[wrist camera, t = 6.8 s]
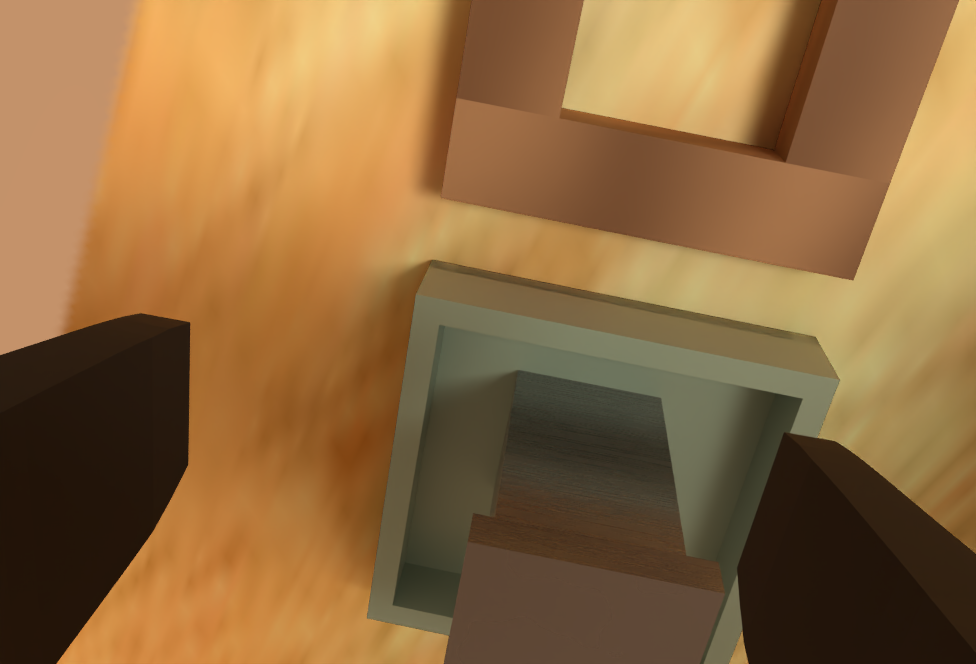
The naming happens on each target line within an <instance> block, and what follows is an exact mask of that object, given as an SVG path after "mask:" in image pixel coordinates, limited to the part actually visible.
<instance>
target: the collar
mask: <svg viewBox="0 0 976 664" xmlns="http://www.w3.org/2000/svg"><path fill="white" fill-rule="evenodd" d="M583 1H584V0H472V2H471V9H470V15H469V21H468V28H467V34H466V40H465V47H464V53H463V59H462V66H461V72H460V79H459V85H458V91H457V98H456V104H455V110H454V117H453V123H452V130H451V136H450V142H449V149H448V155H447V161H446V168H445V174H444V181H443V187H442V193H441V198H444V199H449V200H454V201H459V202H464V203H469V204H474V205H479V206H484V207H489V208H494V209H499V210H504V211H509V212H514V213H519V214H524V215H529V216H534V217H539V218H544V219H549V220H554V221H559V222H564V223H569V224H574V225H579V226H584V227H589V228H594V229H599V230H604V231H609V232H614V233H619V234H624V235H629V236H634V237H639V238H644V239H649V240H654V241H659V242H664V243H669V244H674V245H679V246H684V247H689V248H694V249H699V250H704V251H709V252H714V253H719V254H724V255H729V256H734V257H739V258H744V259H749V260H754V261H759V262H764V263H769V264H774V265H779V266H784V267H789V268H794V269H799V270H804V271H809V272H814V273H819V274H824V275H829V276H834V277H839V278H844V279H849V280H854V277H855V275H856V272H857V269H858V267H859V264H860V261H861V259H862V256H863V253H864V251H865V248H866V246H867V243H868V240H869V238H870V235H871V232H872V230H873V227H874V224H875V222H876V219H877V216H878V214H879V211H880V208H881V206H882V203H883V201H884V198H885V195H886V193H887V190H888V187H889V185H890V182H891V179H892V177H893V174H894V171H895V169H896V166H897V163H898V161H899V158H900V156H901V153H902V150H903V148H904V145H905V142H906V140H907V137H908V134H909V132H910V129H911V126H912V124H913V121H914V118H915V116H916V113H917V111H918V108H919V105H920V103H921V100H922V97H923V95H924V92H925V89H926V87H927V84H928V81H929V79H930V76H931V73H932V71H933V68H934V66H935V63H936V60H937V58H938V55H939V52H940V50H941V47H942V44H943V42H944V39H945V36H946V34H947V31H948V28H949V26H950V23H951V20H952V18H953V15H954V13H955V10H956V7H957V5H958V2H959V0H821V3H820V6H819V10H818V13H817V16H816V19H815V22H814V25H813V29H812V32H811V35H810V38H809V41H808V45H807V48H806V51H805V54H804V57H803V60H802V64H801V67H800V70H799V73H798V76H797V79H796V83H795V86H794V89H793V92H792V95H791V98H790V102H789V105H788V108H787V111H786V114H785V117H784V121H783V124H782V127H781V130H780V133H779V136H778V140H777V143H776V146H775V149H774V150H772V149H767V148H762V147H757V146H752V145H747V144H742V143H737V142H731V141H726V140H721V139H716V138H711V137H706V136H701V135H696V134H691V133H686V132H681V131H676V130H671V129H666V128H661V127H656V126H650V125H645V124H640V123H635V122H630V121H625V120H620V119H615V118H610V117H605V116H600V115H595V114H590V113H585V112H580V111H574V110H569V109H564V108H561V107H562V102H563V98H564V93H565V88H566V83H567V78H568V74H569V69H570V64H571V59H572V54H573V50H574V45H575V40H576V35H577V30H578V25H579V21H580V16H581V11H582V6H583Z"/></svg>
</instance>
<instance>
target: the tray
mask: <svg viewBox="0 0 976 664" xmlns="http://www.w3.org/2000/svg"><path fill="white" fill-rule="evenodd" d="M518 370H522V371H527V372H532V373H537V374H542V375H548V376H553V377H558V378H563V379H568V380H573V381H578V382H583V383H588V384H593V385H599V386H604V387H609V388H614V389H619V390H624V391H629V392H634V393H639V394H644V395H650V396H655V397H660V398H661V400H662V406H663V413H664V419H665V425H666V431H667V438H668V444H669V450H670V456H671V463H672V469H673V475H674V481H675V488H676V494H677V500H678V506H679V513H680V519H681V525H682V531H683V538H684V544H685V550H686V556H690V557H695V558H700V559H705V560H710V561H715V562H719V566H720V571H721V576H722V581H723V586H724V590H725V596H724V598H723V601H722V604H721V607H720V610H719V612H718V615H717V618H716V621H715V623H714V626H713V629H712V632H711V634H710V637H709V640H708V643H707V646H706V648H705V651H704V654H703V657H702V659H701V662H700V664H729V662H730V660H731V657H732V655H733V652H734V650H735V647H736V645H737V642H738V639H739V637H740V634H741V632H742V620H741V611H740V600H739V588H738V576H737V566H738V563H739V560H740V557H741V555H742V552H743V549H744V546H745V543H746V540H747V537H748V534H749V532H750V529H751V526H752V523H753V520H754V517H755V514H756V511H757V508H758V506H759V503H760V500H761V497H762V494H763V491H764V488H765V485H766V483H767V480H768V477H769V474H770V471H771V468H772V465H773V462H774V460H775V457H776V454H777V451H778V448H779V445H780V442H781V439H782V436H783V434H784V432H787V433H792V434H798V435H803V436H809V437H814V438H817V437H818V435H819V432H820V430H821V427H822V425H823V422H824V419H825V417H826V414H827V412H828V409H829V407H830V404H831V402H832V399H833V396H834V394H835V391H836V389H837V386H838V384H839V381H840V379H839V378H838V376H837V374H836V372H835V371H834V369H833V367H832V365H831V363H830V362H829V360H828V358H827V356H826V355H825V353H824V351H823V349H822V348H821V346H820V344H819V342H818V341H817V339H816V337H812V336H807V335H802V334H797V333H792V332H788V331H783V330H778V329H773V328H768V327H763V326H758V325H753V324H748V323H743V322H738V321H733V320H728V319H723V318H718V317H713V316H708V315H703V314H698V313H693V312H688V311H683V310H678V309H673V308H668V307H663V306H658V305H654V304H649V303H644V302H639V301H634V300H629V299H624V298H619V297H614V296H609V295H604V294H599V293H594V292H589V291H584V290H579V289H574V288H569V287H564V286H559V285H554V284H549V283H544V282H539V281H534V280H529V279H525V278H520V277H515V276H510V275H505V274H500V273H495V272H490V271H485V270H480V269H475V268H470V267H465V266H460V265H455V264H450V263H445V262H440V261H435V260H432V261H431V264H430V266H429V268H428V270H427V272H426V274H425V276H424V278H423V280H422V283H421V285H420V287H419V289H418V291H417V293H416V297H415V304H414V310H413V317H412V324H411V330H410V337H409V343H408V350H407V356H406V363H405V370H404V376H403V383H402V389H401V396H400V403H399V409H398V416H397V422H396V429H395V435H394V442H393V449H392V455H391V462H390V468H389V475H388V482H387V488H386V495H385V501H384V508H383V514H382V521H381V528H380V534H379V541H378V547H377V554H376V561H375V567H374V574H373V580H372V587H371V593H370V600H369V607H368V613H367V618H368V619H373V620H377V621H382V622H387V623H392V624H396V625H401V626H406V627H411V628H415V629H420V630H425V631H430V632H435V633H439V634H444V635H450V629H451V624H452V619H453V614H454V609H455V604H456V599H457V593H458V588H459V583H460V578H461V573H462V568H463V563H464V558H465V552H466V547H467V542H468V537H469V532H470V527H471V522H472V517H473V513H475V514H480V515H485V516H489V515H490V509H491V503H492V497H493V491H494V486H495V481H496V476H497V471H498V466H499V461H500V456H501V452H502V447H503V442H504V437H505V432H506V427H507V422H508V417H509V412H510V407H511V403H512V398H513V393H514V388H515V383H516V378H517V373H518Z"/></svg>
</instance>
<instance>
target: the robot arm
mask: <svg viewBox="0 0 976 664" xmlns="http://www.w3.org/2000/svg"><path fill="white" fill-rule="evenodd" d="M189 370H190V322H185V321H179V320H174V319H169V318H163V317H158V316H152V315H147V314H142V313H141V314H135V315H130V316H125V317H121V318H117V319H113V320H109V321H106V322H102V323H99V324H96V325H92V326H89V327H86V328H83V329H80V330H77V331H73V332H70V333H67V334H64V335H61V336H58V337H55V338H52V339H49V340H46V341H43V342H40V343H37V344H34V345H31V346H27V347H24V348H21V349H18V350H15V351H12V352H9V353H6V354H3V355H0V664H56V663H57V662H58V661H59V659H60V658H61V657H62V655H63V654H64V652H65V651H66V650H67V648H68V647H69V646H70V644H71V643H72V642H73V640H74V639H75V638H76V636H77V635H78V634H79V632H80V631H81V629H82V628H83V627H84V625H85V624H86V623H87V621H88V620H89V619H90V617H91V616H92V615H93V613H94V612H95V610H96V609H97V608H98V606H99V605H100V604H101V602H102V601H103V600H104V598H105V597H106V596H107V594H108V593H109V592H110V590H111V589H112V587H113V586H114V585H115V583H116V582H117V581H118V579H119V578H120V577H121V575H122V574H123V572H124V571H125V570H126V568H127V567H128V566H129V564H130V563H131V561H132V560H133V559H134V557H135V556H136V554H137V553H138V552H139V550H140V549H141V548H142V546H143V545H144V543H145V542H146V540H147V539H148V538H149V536H150V535H151V533H152V532H153V530H154V529H155V527H156V525H157V523H158V521H159V520H160V518H161V516H162V514H163V512H164V511H165V509H166V507H167V505H168V503H169V501H170V500H171V498H172V496H173V494H174V492H175V490H176V488H177V486H178V484H179V482H180V480H181V478H182V476H183V474H184V472H185V470H186V468H187V466H188V444H189ZM737 576H738V588H739V600H740V611H741V620H742V629H743V637H744V645H745V649H746V653H747V658H748V662H749V664H976V554H975V553H974V552H973V551H972V550H970V549H969V548H968V547H967V546H966V545H964V544H963V543H962V542H961V541H959V540H958V539H957V538H956V537H954V536H953V535H952V534H951V533H950V532H948V531H947V530H946V529H945V528H944V527H942V526H941V525H940V524H939V523H938V522H936V521H935V520H934V519H933V518H932V517H930V516H929V515H928V514H927V513H926V512H924V511H923V510H922V509H921V508H920V507H918V506H917V505H916V504H915V503H914V502H912V501H911V500H910V499H909V498H908V497H906V496H905V495H904V494H903V493H902V492H901V491H899V490H898V489H897V488H896V487H895V486H893V485H892V484H891V483H890V482H889V481H887V480H886V479H885V478H884V477H883V476H881V475H880V474H879V473H878V472H876V471H875V470H874V469H873V468H871V467H870V466H869V465H868V464H867V463H865V462H864V461H863V460H861V459H860V458H859V457H858V456H856V455H855V454H853V453H852V452H851V451H849V450H848V449H846V448H845V447H843V446H842V445H840V444H839V443H837V442H836V441H830V440H825V439H820V438H814V437H809V436H803V435H798V434H792V433H787V432H784V434H783V436H782V439H781V442H780V445H779V448H778V451H777V454H776V457H775V460H774V462H773V465H772V468H771V471H770V474H769V477H768V480H767V483H766V485H765V488H764V491H763V494H762V497H761V500H760V503H759V506H758V508H757V511H756V514H755V517H754V520H753V523H752V526H751V529H750V532H749V534H748V537H747V540H746V543H745V546H744V549H743V552H742V555H741V557H740V560H739V563H738V566H737Z"/></svg>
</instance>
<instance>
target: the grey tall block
mask: <svg viewBox="0 0 976 664" xmlns="http://www.w3.org/2000/svg"><path fill="white" fill-rule="evenodd" d="M724 596H725V590H724V586H723V581H722V576H721V571H720V566H719V562H715V561H710V560H705V559H700V558H695V557H690V556H686V550H685V544H684V538H683V531H682V525H681V519H680V513H679V506H678V500H677V494H676V488H675V481H674V475H673V469H672V463H671V456H670V450H669V444H668V438H667V431H666V425H665V419H664V413H663V406H662V400H661V398H660V397H655V396H650V395H644V394H639V393H634V392H629V391H624V390H619V389H614V388H609V387H604V386H599V385H593V384H588V383H583V382H578V381H573V380H568V379H563V378H558V377H553V376H548V375H542V374H537V373H532V372H527V371H522V370H518V373H517V378H516V383H515V388H514V393H513V398H512V403H511V407H510V412H509V417H508V422H507V427H506V432H505V437H504V442H503V447H502V452H501V456H500V461H499V466H498V471H497V476H496V481H495V486H494V491H493V497H492V503H491V509H490V515H489V516H485V515H480V514H475V513H473V517H472V522H471V527H470V532H469V537H468V542H467V547H466V552H465V558H464V563H463V568H462V573H461V578H460V583H459V588H458V593H457V599H456V604H455V609H454V614H453V619H452V624H451V629H450V635H449V640H448V645H447V650H446V655H445V660H444V664H700V662H701V659H702V657H703V654H704V651H705V648H706V646H707V643H708V640H709V637H710V634H711V632H712V629H713V626H714V623H715V621H716V618H717V615H718V612H719V610H720V607H721V604H722V601H723V598H724Z"/></svg>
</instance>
